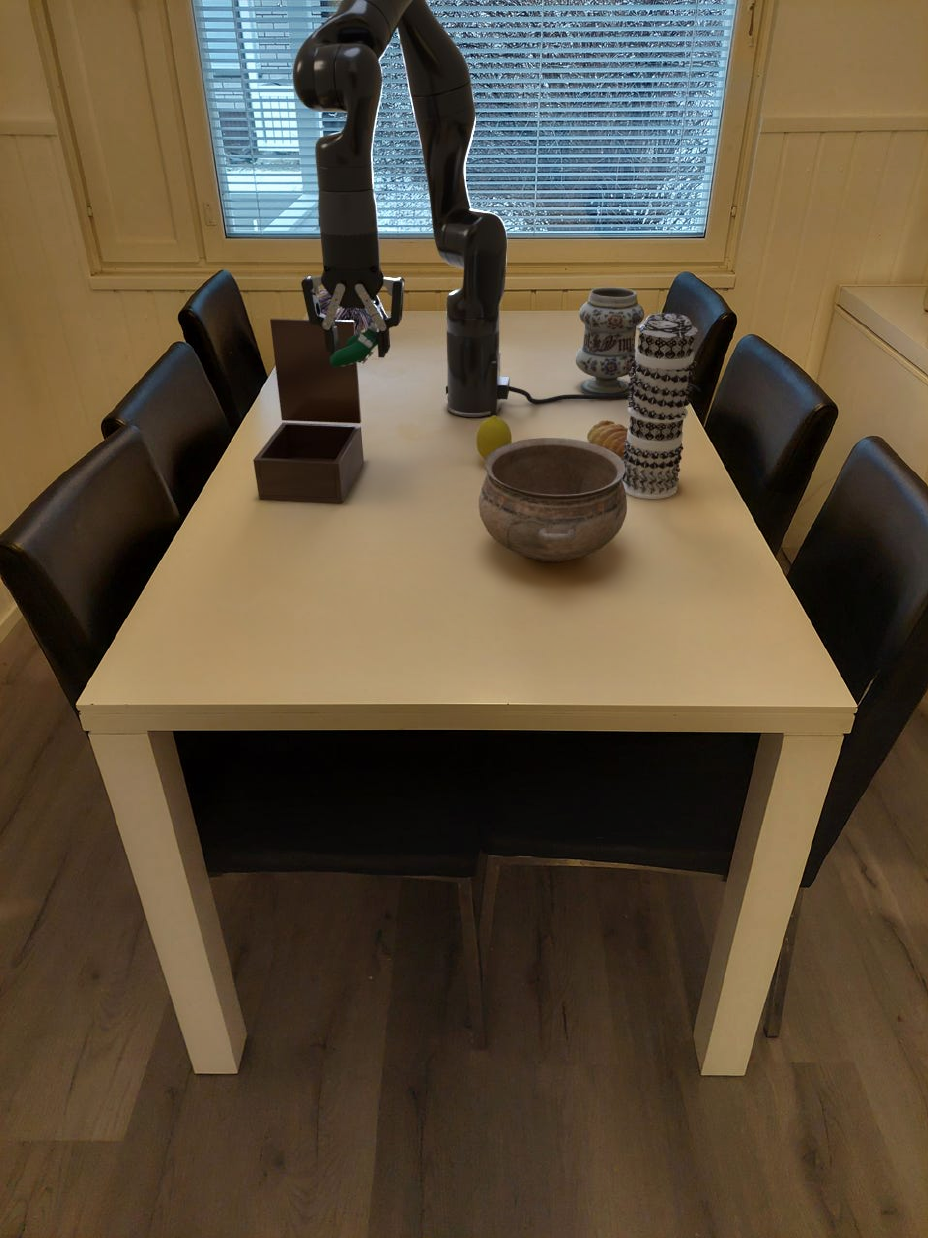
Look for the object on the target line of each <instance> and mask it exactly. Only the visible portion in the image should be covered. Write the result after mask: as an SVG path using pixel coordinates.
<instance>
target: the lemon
mask: <svg viewBox="0 0 928 1238" xmlns="http://www.w3.org/2000/svg"><path fill="white" fill-rule="evenodd" d="M476 432H477V433H476V439H475V440H476V441H475V442H476V449H477V451H478V454H479V455H480V456H481V457H482V458H483V459H484V460H485V461H486V458H487V457H488V456H489V454H491V453H492V452H493V451H494V450H496V449H498V448H500V447H502V446H504V445H507V444H510V443H513V442H512V441H513V437H512V431H511V427H510V426H509V424H508V423H507V421H506V420H504V419H502V417H498V416H497V415H491V417H488V418H486V419H484V420H483V421H482V422H481V423H480V424H479V427H478V429H477V431H476Z"/></svg>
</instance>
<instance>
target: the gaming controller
mask: <svg viewBox="0 0 928 1238" xmlns="http://www.w3.org/2000/svg"><path fill="white" fill-rule="evenodd" d="M375 324H376V323H375ZM375 324H373V323H371V326H370V327H369V328H368V329H367V331H365V330H364V332H363V331H362V332H361V333H360V334H356V335H354V336H352V337H350V338H349V339H348V340H347V341H346V344H345V346H346V347H345V348H343V349H341V350H339V351H337V352H335V353H334V354H333V355H332V356H331V357H330V363H331V366H332V367H342V366H347V365H350V364H354V363H356V362H357V363H358V364H361V363H362V365H363V364H365V363H366V362H367V361H368V360H369V358H370V357H372V356H373V354H374V353H375V352H374V351H373V350H374V349H375V347H378V342H377V330H378V327H377V325H375Z"/></svg>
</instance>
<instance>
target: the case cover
mask: <svg viewBox="0 0 928 1238" xmlns="http://www.w3.org/2000/svg"><path fill="white" fill-rule="evenodd" d="M269 323H270V331H271V339H272V348H273V355H274V357H273V358H274V365H275V373H276V382H277V392H278V398H279V399H278V400H279V408H280V417H281V421H284V422H285V421H287V422H310V423H312V422H313V423H335V424H337V423H338V424H361V423H362V413H361V399H360V398H361V397H360V384H359V383H360V382H359V369H358V362H356V363H354V364H350V365H347V366H342V367H332V366H331V363H330V357H331V354H330V352H327V350H326V345H325V335H324V329H323V328H322V327H321V326H319V325H316V324H315V325H313V324H311V323H310V322H309V319H300V318H299V319H297V318H291V319H290V318H270V320H269ZM335 326H337V334H338V346H339V350H341V349H343V348H345V347H346V346H345V344H346V341H347V340H348V339H349V338H350V337H352V336H354V335H355V323H354V321H341V320H335Z"/></svg>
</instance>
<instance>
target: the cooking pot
mask: <svg viewBox="0 0 928 1238" xmlns="http://www.w3.org/2000/svg"><path fill="white" fill-rule="evenodd" d="M623 461H624V460H623V459H620V457H619V456H617V455H616V454H615V453H613V452H612V451H610V450H608V449H606V448H604V447H601V446H598V445H596V444H592V443H589V441H584V440H578V439H572V438H564V437H563V438H561V437H560V438H559V437H537V438H529V439H524V440H523V439H522V440H517V441H514V442H512V443H510V444H507V445H504V446H502V447H500V448H498V449H496V450H494V451H493V452H492V453H491V454H489V456H488V457H487V458H486V460H485V461H484V470H485V471H486V475H485V476H484V480H483V483H482V486H481V489H480V493H479V496H478V510H479V517H480V519H481V521H482V523H483V525H484V527H485V530H486V531H487V532H488V534H489V535H490V536H491V537H492V538H493V539H494V541H495V542H497V543H498V544H499V545H501V546H502V547H504V548H505V549H507V550H509V551H511V552H512V553H515V554H517V555H520V556H522V557H525V558H527V559H531V560H534V561H537V562H541V563H549V564H557V563H563V562H566V561H570V560H574V559H579V558H582V557H585V556H588V555H591V554H593V553H595V552H598V551H600V550H601V549H602V548H604V547H605V546H607V545H608V544H609V543H611V542H612V540H613V539H614V538H615V537H616V536H617V534H618V533H619V532H620V530H621V529H622V527H623V525H624V523H625V520H626V517H627V511H628V498H627V493H626V492H625V488H624V485H623V482H622V477H623V475H624V473H625V465H624V463H623Z"/></svg>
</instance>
